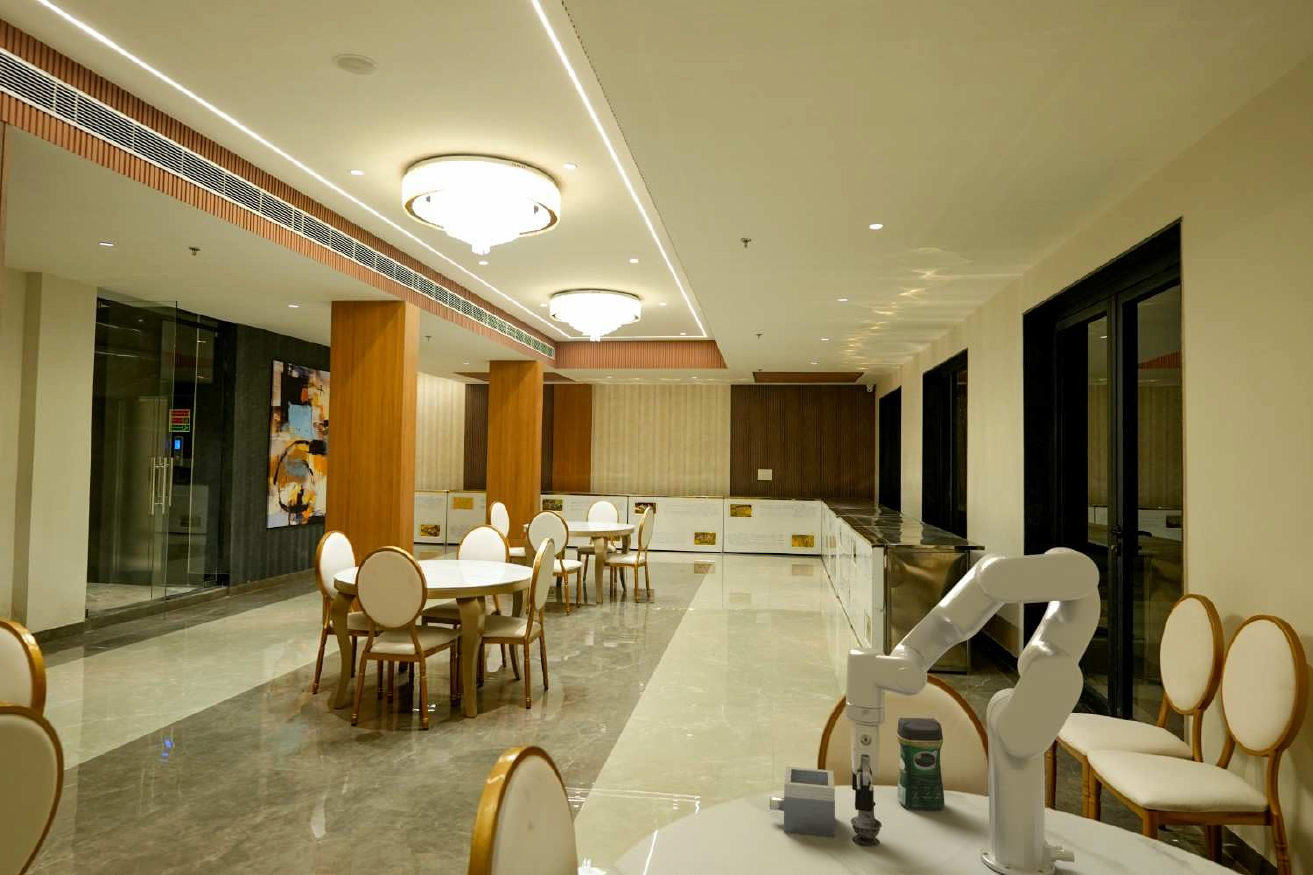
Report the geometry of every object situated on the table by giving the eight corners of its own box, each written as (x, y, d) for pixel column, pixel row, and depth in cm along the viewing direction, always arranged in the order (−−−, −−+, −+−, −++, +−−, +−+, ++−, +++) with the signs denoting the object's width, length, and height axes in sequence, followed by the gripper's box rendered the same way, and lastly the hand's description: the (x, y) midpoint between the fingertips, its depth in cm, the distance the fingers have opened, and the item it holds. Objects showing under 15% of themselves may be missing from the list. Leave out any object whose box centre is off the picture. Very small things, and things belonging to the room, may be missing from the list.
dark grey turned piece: (845, 836, 154) (845, 774, 155) (870, 832, 156) (870, 771, 156) (861, 849, 148) (861, 785, 149) (887, 845, 150) (887, 782, 151)
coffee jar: (936, 797, 174) (936, 713, 175) (948, 812, 166) (948, 724, 167) (893, 796, 174) (893, 712, 175) (903, 811, 166) (902, 723, 167)
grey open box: (833, 812, 165) (833, 767, 165) (834, 837, 153) (835, 788, 154) (771, 806, 167) (771, 761, 168) (768, 830, 156) (769, 782, 156)
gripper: (888, 727, 144) (885, 821, 143) (880, 702, 161) (877, 785, 160) (847, 723, 146) (844, 815, 145) (843, 698, 163) (840, 781, 162)
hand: (861, 799), depth 153 cm, fingers open, 9 cm apart
